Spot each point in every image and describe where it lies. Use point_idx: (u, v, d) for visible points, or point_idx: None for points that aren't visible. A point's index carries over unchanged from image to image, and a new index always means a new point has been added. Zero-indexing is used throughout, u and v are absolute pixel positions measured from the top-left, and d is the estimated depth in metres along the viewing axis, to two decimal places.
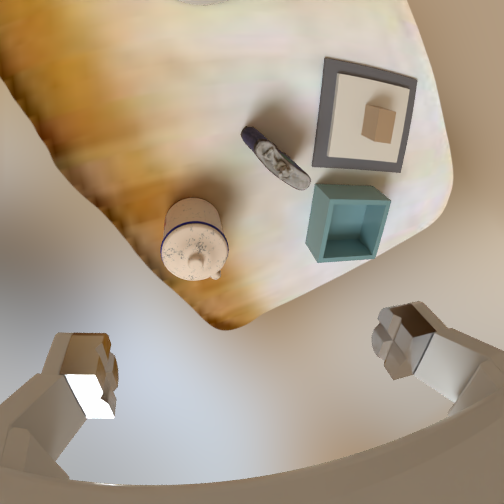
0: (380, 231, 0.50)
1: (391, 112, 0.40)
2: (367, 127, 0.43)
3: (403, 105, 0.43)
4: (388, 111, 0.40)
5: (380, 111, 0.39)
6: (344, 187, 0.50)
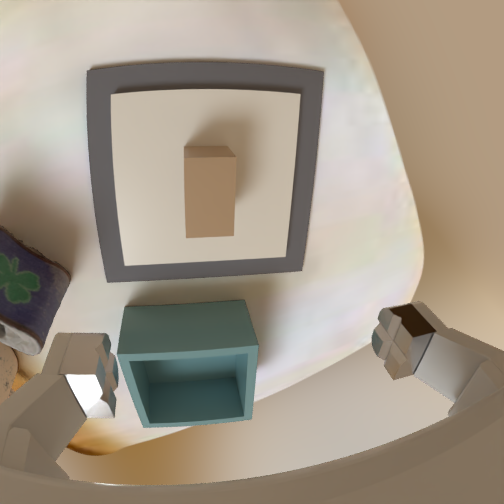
0: (249, 389, 0.27)
1: (221, 161, 0.18)
2: (184, 201, 0.21)
3: (287, 133, 0.22)
4: (212, 160, 0.18)
5: (187, 164, 0.18)
6: (176, 312, 0.27)
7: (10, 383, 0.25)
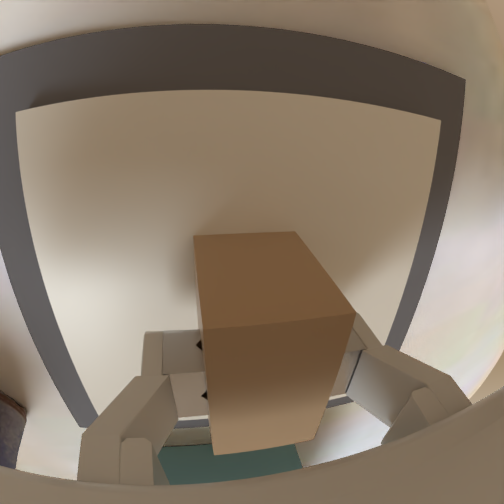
0: None
1: (316, 327, 0.06)
2: None
3: (411, 201, 0.10)
4: (289, 326, 0.06)
5: (215, 344, 0.06)
6: (191, 461, 0.15)
7: None
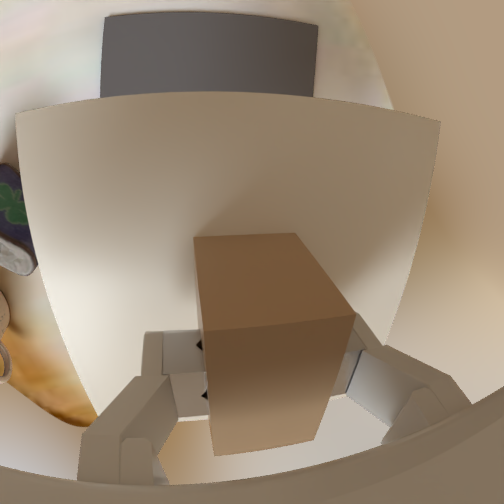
0: None
1: (316, 328, 0.06)
2: None
3: (411, 202, 0.10)
4: (289, 328, 0.06)
5: (215, 346, 0.06)
6: None
7: (0, 332, 0.25)
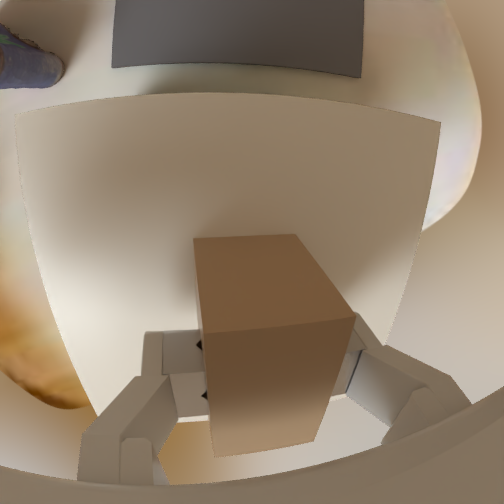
0: None
1: (316, 331, 0.06)
2: None
3: (411, 203, 0.10)
4: (290, 330, 0.06)
5: (216, 348, 0.06)
6: None
7: None
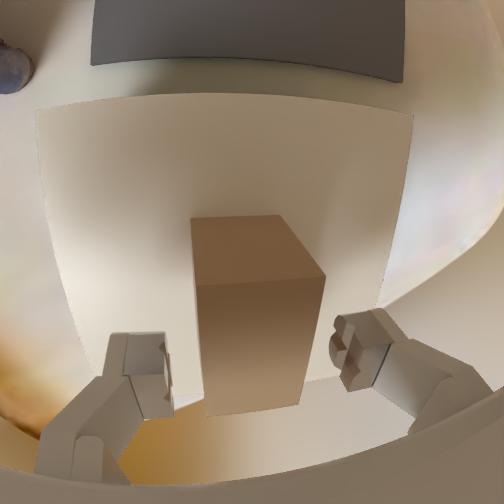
0: None
1: (291, 287, 0.07)
2: None
3: (387, 188, 0.11)
4: (268, 286, 0.07)
5: (206, 300, 0.07)
6: None
7: None
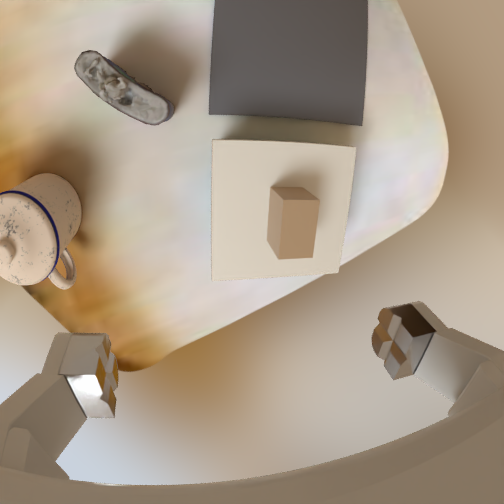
0: None
1: (309, 202, 0.25)
2: (271, 230, 0.28)
3: (345, 178, 0.29)
4: (303, 201, 0.24)
5: (285, 205, 0.24)
6: None
7: (72, 231, 0.29)
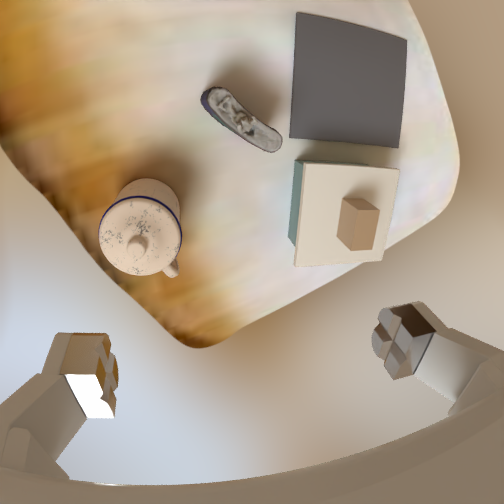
0: None
1: (373, 211, 0.34)
2: (343, 229, 0.37)
3: (391, 191, 0.38)
4: (369, 211, 0.34)
5: (359, 213, 0.34)
6: (331, 163, 0.41)
7: None
